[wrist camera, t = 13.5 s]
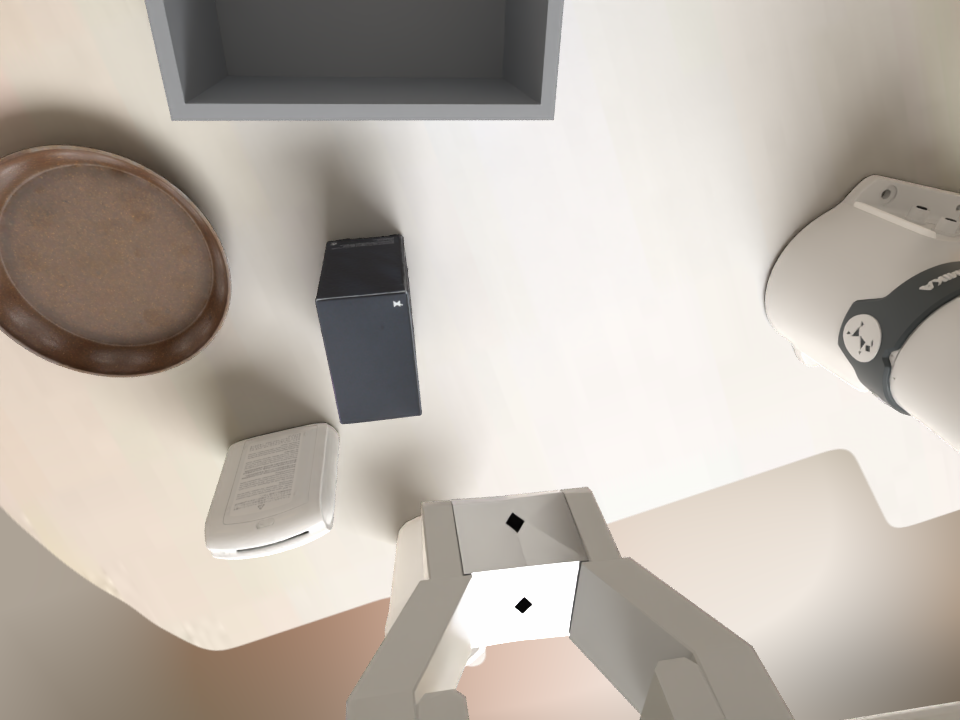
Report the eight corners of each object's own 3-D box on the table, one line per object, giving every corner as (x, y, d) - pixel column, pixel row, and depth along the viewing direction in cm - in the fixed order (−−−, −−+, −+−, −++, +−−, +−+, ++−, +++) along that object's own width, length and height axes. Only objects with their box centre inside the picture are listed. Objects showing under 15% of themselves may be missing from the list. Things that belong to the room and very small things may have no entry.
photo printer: (240, 475, 58) (212, 581, 48) (222, 441, 56) (188, 545, 45) (345, 449, 58) (340, 549, 48) (331, 415, 56) (323, 512, 46)
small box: (320, 239, 47) (309, 297, 39) (403, 231, 48) (411, 287, 39) (342, 354, 53) (337, 428, 44) (416, 346, 54) (426, 417, 45)
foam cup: (371, 518, 64) (372, 629, 53) (456, 494, 64) (474, 599, 53) (398, 574, 69) (404, 685, 58) (477, 551, 69) (497, 658, 58)
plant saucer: (78, 78, 40) (58, 84, 37) (285, 267, 48) (281, 283, 46) (-79, 248, 43) (-107, 264, 41) (139, 394, 52) (128, 415, 50)
